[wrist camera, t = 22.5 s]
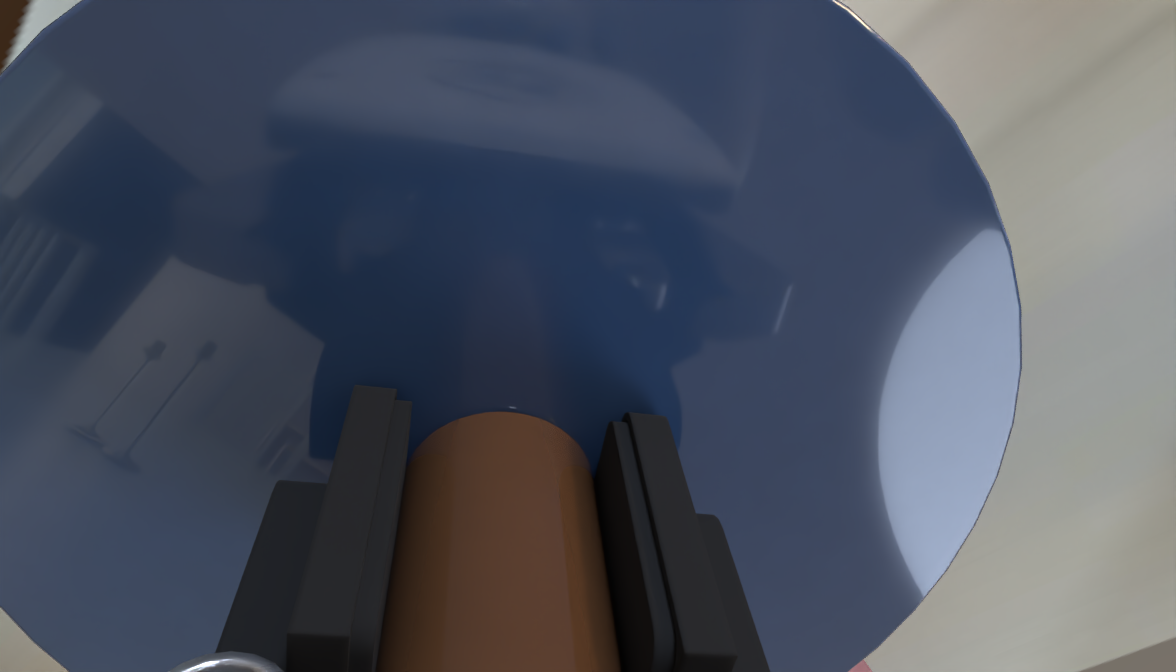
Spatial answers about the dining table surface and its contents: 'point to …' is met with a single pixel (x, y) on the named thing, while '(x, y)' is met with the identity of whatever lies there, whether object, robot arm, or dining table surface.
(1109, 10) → the dining table surface
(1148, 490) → the dining table surface
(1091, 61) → the dining table surface
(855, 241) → the lid
